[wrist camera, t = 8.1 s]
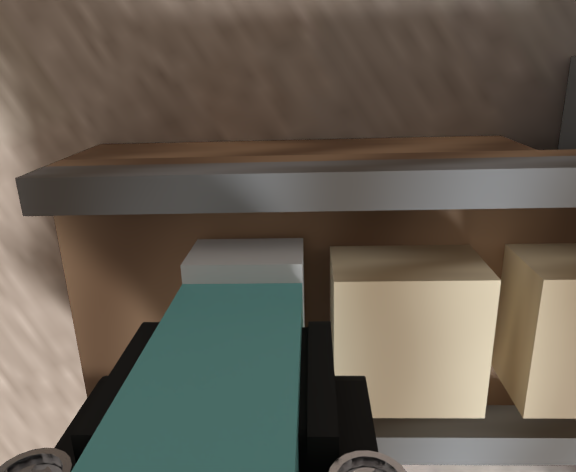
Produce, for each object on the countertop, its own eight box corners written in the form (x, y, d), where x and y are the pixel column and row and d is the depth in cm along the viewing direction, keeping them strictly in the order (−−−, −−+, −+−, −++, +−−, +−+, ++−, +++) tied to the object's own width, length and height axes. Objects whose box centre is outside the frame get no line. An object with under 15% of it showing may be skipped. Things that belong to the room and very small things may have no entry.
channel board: (620, 132, 17) (754, 163, 12) (578, 361, 20) (671, 466, 15) (99, 144, 18) (15, 178, 13) (131, 363, 21) (73, 462, 16)
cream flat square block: (470, 244, 15) (500, 280, 12) (458, 365, 16) (484, 418, 13) (330, 246, 15) (333, 281, 12) (329, 365, 16) (333, 417, 14)
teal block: (303, 238, 14) (288, 577, 5) (306, 389, 16) (299, 871, 6) (197, 239, 14) (-21, 570, 5) (210, 389, 16) (65, 859, 7)
